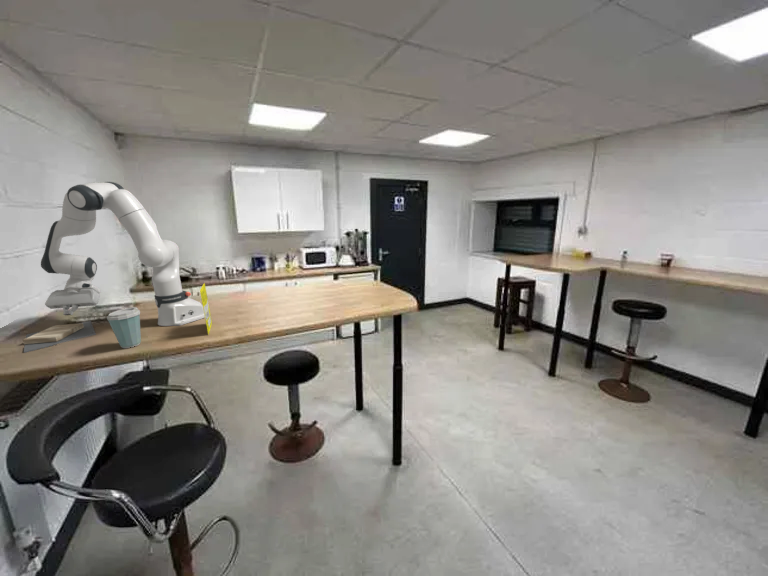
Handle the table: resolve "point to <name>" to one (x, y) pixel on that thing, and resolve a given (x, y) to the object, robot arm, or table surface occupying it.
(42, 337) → the ash tile
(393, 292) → the table surface
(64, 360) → the table surface
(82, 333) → the charcoal mat
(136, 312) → the disposable coffee cup
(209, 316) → the food package
